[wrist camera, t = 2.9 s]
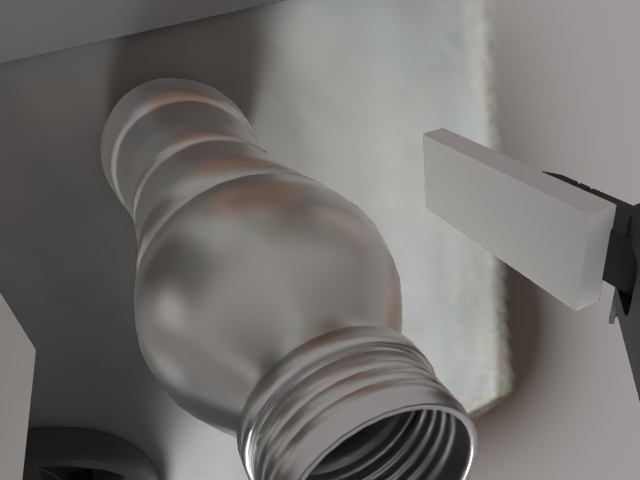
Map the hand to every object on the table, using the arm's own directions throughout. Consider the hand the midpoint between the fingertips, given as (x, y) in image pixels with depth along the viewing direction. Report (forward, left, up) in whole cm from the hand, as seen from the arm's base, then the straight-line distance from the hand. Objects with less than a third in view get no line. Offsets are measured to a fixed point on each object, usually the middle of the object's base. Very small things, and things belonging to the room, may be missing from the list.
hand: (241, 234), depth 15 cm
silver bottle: (0, 0, -11) cm, 11 cm away
